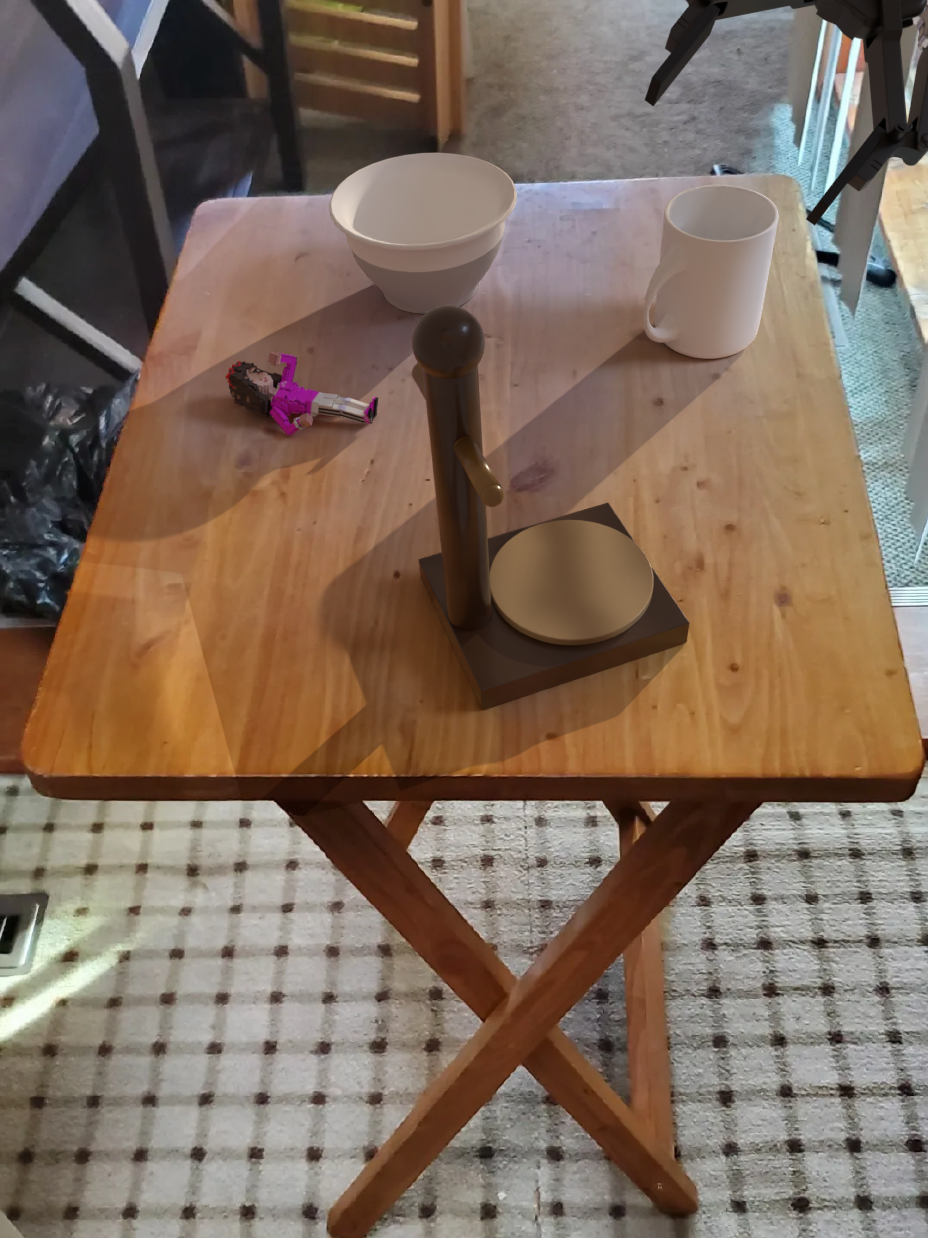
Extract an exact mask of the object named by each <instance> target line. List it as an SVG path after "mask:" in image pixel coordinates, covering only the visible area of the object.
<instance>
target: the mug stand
mask: <svg viewBox="0 0 928 1238" xmlns="http://www.w3.org/2000/svg"><path fill="white" fill-rule="evenodd" d="M411 339H412V340H411V348H412V353H413V356H414V358H415V360H416V364H415V365H414V366H413V367H412V369H411V377H412V379H413V381H414V382H415V385H416V386H417V388H418V390H419V391H420V393H421V395H422V397H423V398H424V400H425V406H426V415H427V425H428V435H429V446H430V453H431V462H432V464H431V465H432V474H433V475H432V476H433V483H434V494H435V503H436V504H435V505H436V513H437V522H438V523H437V524H438V532H439V543H440V551H441V552H438V553H434V554H432V555H428V556H424V557H421V558H418V560H417V561H418V567H419V568H418V569H419V576H420V580H421V583H422V585H423V587H424V589H425V591H426V593H427V595H428V597H429V600H430V602H431V604H432V606H433V608H434V610H435V613H436V615H437V617H438V619H439V621H440V623H441V625H442V627H443V629H444V632H445V633H446V635H447V639H448V640H449V642H450V644H451V646H452V648H453V651H454V653H455V656H456V657H457V659H458V662H459V663H460V666H461V668H462V670H463V672H464V674H465V676H466V678H467V681H468V682H469V685H470V687H471V689H472V691H473V693H474V695H475V697H476V700H477V701H478V704H479V706H480V708H481V710H482V711H485V710H487V709H490V708H493V707H496V706H499V705H503V704H505V703H509V702H512V701H515V700H518V699H520V698H524V697H527V696H530V695H532V694H536V693H539V692H542V691H544V690H548V689H551V688H554V687H557V686H560V685H563V684H566V683H569V682H572V681H575V680H578V679H582V678H583V677H587V676H590V675H593V674H596V673H599V672H602V671H605V670H608V669H611V668H615V667H617V666H620V665H623V664H626V663H629V662H633V661H636V660H639V659H641V658H645V657H647V656H651V655H653V654H656V653H660V652H662V651H665V650H668V649H671V648H674V647H677V646H680V645H683V644H686V643H687V642H688V637H689V630H690V621H689V619H688V618H687V617H686V615H685V613H684V612H683V611H682V609H681V608H680V606H679V605H678V603H677V601H676V600H675V598H674V597H673V596H672V594H671V593H670V592H669V591H670V590H668V588H667V587H666V585H665V584H664V582H663V581H662V579H661V578H660V577H659V575H658V574H657V572H656V570H655V569H654V567H653V566H652V565H651V562H650V559H648V557H647V555H646V553H645V552H644V551H643V549H641V547H640V546H639V545H638V544H637V543H636V541H635V540H634V538H633V537H632V535H631V534H630V532H629V531H628V529H627V528H626V526H625V525H624V523H623V522H622V520H621V519H620V518H619V516H618V515H617V513H616V512H615V510H614V509H613V507H612V506H611V503H609V502H604V503H601V504H597V505H595V506H591V507H588V508H585V509H582V510H581V509H580V510H577V511H575V512H571V513H568V514H564V515H561V516H558V517H555V518H552V519H547V520H544V521H541V522H537V523H533V524H531V525H528V526H525V527H520V528H518V529H514V530H512V531H508V532H505V533H501V534H498V535H495V536H491V537H488V520H487V506H488V507H491V508H495V507H498V506H500V505H501V504H502V503H503V501H504V499H505V491H504V488H503V487H502V485H501V483H500V482H499V479H498V478H497V476H496V474H495V473H494V471H493V469H492V468H491V466H490V465H489V463H488V461H487V459H486V457H485V456H484V451H483V450H484V449H483V433H482V432H483V431H482V430H483V429H482V415H481V398H480V397H481V394H480V378H479V377H480V376H479V375H480V374H479V364H480V362H481V360H482V358H483V355H484V353H485V352H484V351H485V347H486V341H485V334H484V330H483V327H482V325H481V324H480V321H478V319H477V317H475V315H473V314H472V313H471V312H470V311H468V310H467V309H466V308H463V307H461V306H459V307H458V306H452V305H444V306H439V307H436V308H433V309H432V310H430V311H428V312H427V313H426V314H423V315H422V316H421V318H419V319H418V321H417V323H416V325H415V327H414V329H413V332H412V338H411Z"/></svg>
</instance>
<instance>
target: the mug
mask: <svg viewBox="0 0 928 1238" xmlns="http://www.w3.org/2000/svg"><path fill="white" fill-rule="evenodd" d="M663 211H664V212H663V221H662V232H661V241H660V242H661V243H660V253H659V254H660V255H659V264H658V265H657V267H656V268H655V270H654V272H653V273H652V276H651V278H650V280H649V283H648V286H647V288H646V292H645V296H644V302H643V313H642V314H643V317H642V318H643V319H642V320H643V328H644V329H643V330H644V333H645V334H646V336H647V338H648V339H649V340H651V341H652V342H655V343H663V344H664V345H666V347H668V348H670V350H672V351H675V352H676V353H678V354H681V355H683V356H687V357H691V358H695V359H702V360H703V359H706V360H707V359H708V360H709V359H710V360H711V359H712V360H713V359H722V358H726V357H727V358H728V357H730V356H733V355H736V354H739V353H740V352H743V350H745V349H746V348H748V347H749V346H750V345H751V344H752V343H753V341H754V340H755V339H756V337H757V334H758V332H759V328H760V324H761V320H762V315H763V308H764V303H765V298H766V292H767V286H768V280H769V274H770V269H771V263H772V258H773V253H774V252H773V251H774V246H775V241H776V236H777V235H776V234H777V231H778V230H777V229H778V224H779V219H780V216H779V215H780V214H779V210H778V207H777V206H776V204H775V203H774V202H773V201H772V200H771V199H770V198H769V197H767V196H765V195H764V194H762V193H760V192H758V191H755V190H754V189H750V188H747V187H743V186H738V185H730V184H707V185H706V184H705V185H701V186H696V187H691V188H687V189H685V190H684V191H681V192H678V193H677V194H676V195H674V196H673V197H672V198H670V200H668V202H667V203H666V204H665V206H664V210H663ZM655 297H656V298H655ZM654 299H655V310H654V327H653V326H652V324H651V322H650V311H651V308H652V307H651V306H652V304H653V301H654Z"/></svg>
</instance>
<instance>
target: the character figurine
mask: <svg viewBox="0 0 928 1238" xmlns="http://www.w3.org/2000/svg"><path fill="white" fill-rule="evenodd" d="M267 362H268V363H269V364H270V365H271V366H273V367H278V366H279V365H280V364H281V363H283V364H286V365H285V366H283V368H282V373H281V374H279V373H276V372H269V371H266V370H263V369H261V368H260V367H259V368H258V366H257V365H255V363H254V362H251V363H250V362H246V361H245V360H244V361H240V360H238V361H236V363H232V365H231V367H229V368H228V372H227V374H226V375H225V380H227V383H228V390H229V393H230V396H231V398H233V402H234V403H233V404H236V405H239V406H241V407H244V408H245V410H248V411H250V412H253V413H256V414H258V415H262V416H265V417H267V418H270V417H272V419H273V420H274V421H275V422H276V424H277V425H278V426H279V428H281V430H282V431H283V432H284V433H285V435H286V436H292V435H294V434H296V432H298V431H299V430H304V429H305V428H306V429H307V428H309V427H312V426H313V421H314V418H316V417H318V416H319V415H322V416H327V417H328V416H329V417H334V418H341V419H345V420H348V421H351V422H353V421H357V422H360V423H363V424H364V423H367V424H371V425H372V424H373V423H374V419H375V418H376V417H377V415H378V406H379V397H378V396H373V397H372V399H371V401H370V402H369V403H366V402H364V401H361V400H358V399H354V398H351V397H348V396H347V397H345V396H340V394H337V393H327V392H322V391H318V390H315V389H311V388H307V389H305V387H303V386H299V384H298V382H296V381H294V377H295V373H296V368H297V365H298V357H297V356H295V355H293V354H288V353H283V352H277V351H270V352H269V354H268V359H267ZM292 414H295V415H296V414H297V415H299V416H297V417H294V418H293V421H292V423H291V422H290V418H289V416H291V415H292Z"/></svg>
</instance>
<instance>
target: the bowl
mask: <svg viewBox="0 0 928 1238" xmlns="http://www.w3.org/2000/svg"><path fill="white" fill-rule="evenodd" d="M517 196H518V192H517V189H516V186H515V183H514V181H513V179H512V178H511V177H510V176H509V174H507V172H505V171H504V170H502V169H501V168H500V167H498V166H496V165H494V164H493V163H490V162H488V161H486V160H483V159H480V158H477V157H474V156H470V155H464V154H458V153H448V152H420V153H419V152H418V153H412V154H411V153H410V154H403V155H399V156H394V157H390V158H386V159H383V160H380V161H376V162H374V163H371V164H368V165H366V166H364V167H362V168H359V169H358V170H356V171H355V172H353V173H352V174H350V175H349V176H347V177H346V178H344V179H343V180H342V181H341V182H340V183H339V184H338V185H337V187H335V189H334V191H333V192H332V194H331V197H330V200H329V203H328V209H329V216H330V218H331V220H332V222H333V224H334V226H335V227H336V228H338V230H339V231H341V232H342V234H344V235H345V238H346V243H347V245H348V246H349V249H350V251H351V253H352V255H353V258H354V260H355V262H356V264H357V265H358V267H359V268H360V270H362V272H363V273H364V274H365V276H366V277H367V278H368V279H369V280H370V281H371V283H373V284H374V285H375V286H376V287H377V288H378V289H379V290H380V291H382V294H383V296H384V298H385V300H386V301H387V303H388V304H390V305H391V306H393V307H395V308H396V309H399V310H401V311H404V312H408V313H413V314H423V315H424V314H426V313H427V312H428V311H430V310H432V309H433V308H436V307H439V306H444V305H452V306H458V307H461V306H463V305H465V304H466V303H467V302H469V301H470V300H471V299H473V297H474V296H475V295H476V293H477V292H478V289H479V283H480V282H481V280H482V279H483V278H484V277H485V275H486V274H487V273H488V272H489V270H490V269H491V266H492V265H493V263H494V261H495V259H496V257H497V255H498V253H499V250H500V249H501V246H502V240H503V236H504V233H505V227H506V220H507V219H508V218H509V216H511V214H512V213H513V211H514V209H515V207H516V205H517V200H518V197H517Z"/></svg>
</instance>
